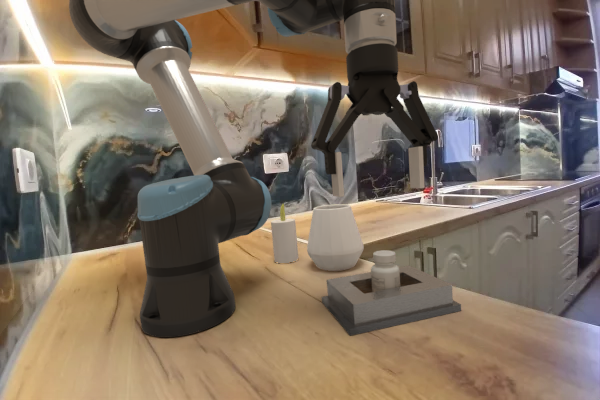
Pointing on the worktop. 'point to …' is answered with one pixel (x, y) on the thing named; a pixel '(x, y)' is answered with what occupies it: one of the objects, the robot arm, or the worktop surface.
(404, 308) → the holder
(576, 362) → the worktop surface
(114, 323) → the worktop surface
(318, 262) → the white vase
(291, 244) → the candle
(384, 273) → the pill bottle
